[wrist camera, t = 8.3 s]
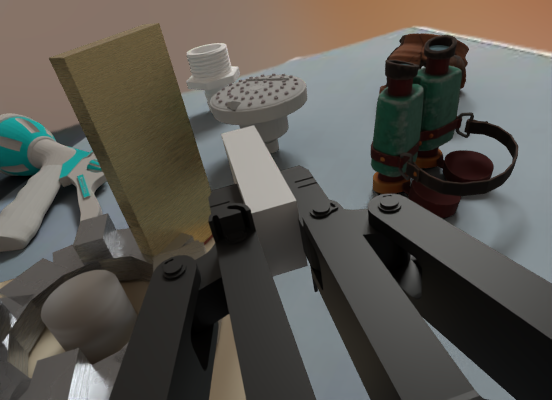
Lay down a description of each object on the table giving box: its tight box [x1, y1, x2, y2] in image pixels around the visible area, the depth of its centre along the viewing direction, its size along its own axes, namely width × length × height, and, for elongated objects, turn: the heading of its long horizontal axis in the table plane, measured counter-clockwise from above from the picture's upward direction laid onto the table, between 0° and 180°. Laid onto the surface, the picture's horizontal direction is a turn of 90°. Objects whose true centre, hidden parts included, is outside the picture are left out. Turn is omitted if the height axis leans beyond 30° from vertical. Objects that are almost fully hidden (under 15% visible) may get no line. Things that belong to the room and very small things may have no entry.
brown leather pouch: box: [379, 34, 469, 94], centre depth 44 cm, size 12×10×8 cm
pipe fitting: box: [186, 43, 240, 113], centre depth 52 cm, size 6×7×8 cm
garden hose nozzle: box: [0, 114, 107, 252], centre depth 41 cm, size 7×18×20 cm
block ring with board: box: [0, 23, 222, 400], centre depth 20 cm, size 18×14×14 cm
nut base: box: [0, 235, 246, 400], centre depth 22 cm, size 18×16×4 cm
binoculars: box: [371, 35, 518, 218], centre depth 28 cm, size 9×11×10 cm
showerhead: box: [210, 74, 307, 154], centre depth 40 cm, size 9×7×10 cm
